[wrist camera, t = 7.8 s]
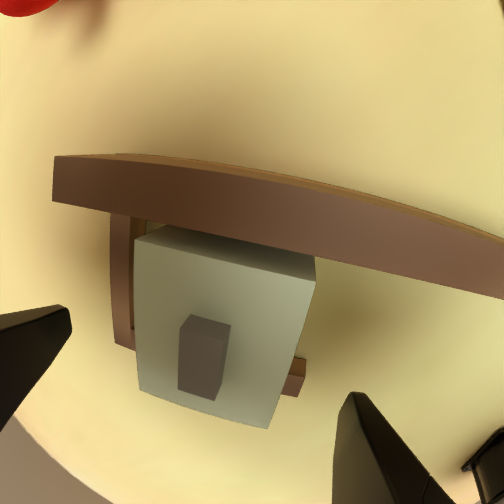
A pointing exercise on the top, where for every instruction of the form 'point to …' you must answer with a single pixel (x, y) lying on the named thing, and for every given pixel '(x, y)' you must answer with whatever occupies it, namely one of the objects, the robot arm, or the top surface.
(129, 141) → the top surface
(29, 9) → the ceramic cup
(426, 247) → the wall board
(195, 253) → the cabinet block
